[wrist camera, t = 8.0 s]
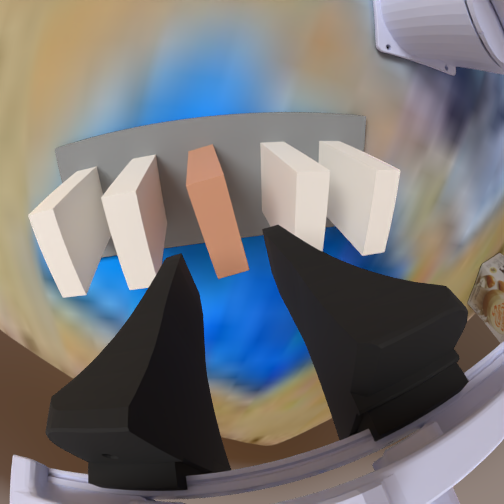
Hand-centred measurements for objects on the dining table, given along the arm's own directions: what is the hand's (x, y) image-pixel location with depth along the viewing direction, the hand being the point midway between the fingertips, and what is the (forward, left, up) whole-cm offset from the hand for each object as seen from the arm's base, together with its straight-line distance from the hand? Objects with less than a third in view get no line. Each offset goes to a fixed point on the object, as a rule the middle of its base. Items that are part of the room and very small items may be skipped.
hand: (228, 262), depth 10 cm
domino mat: (0, 0, -10) cm, 10 cm away
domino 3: (0, 0, -9) cm, 9 cm away
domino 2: (+4, 0, -9) cm, 10 cm away
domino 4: (-4, 0, -9) cm, 10 cm away
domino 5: (-8, 0, -9) cm, 13 cm away
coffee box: (-42, +18, -10) cm, 47 cm away
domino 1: (+8, 0, -9) cm, 13 cm away
